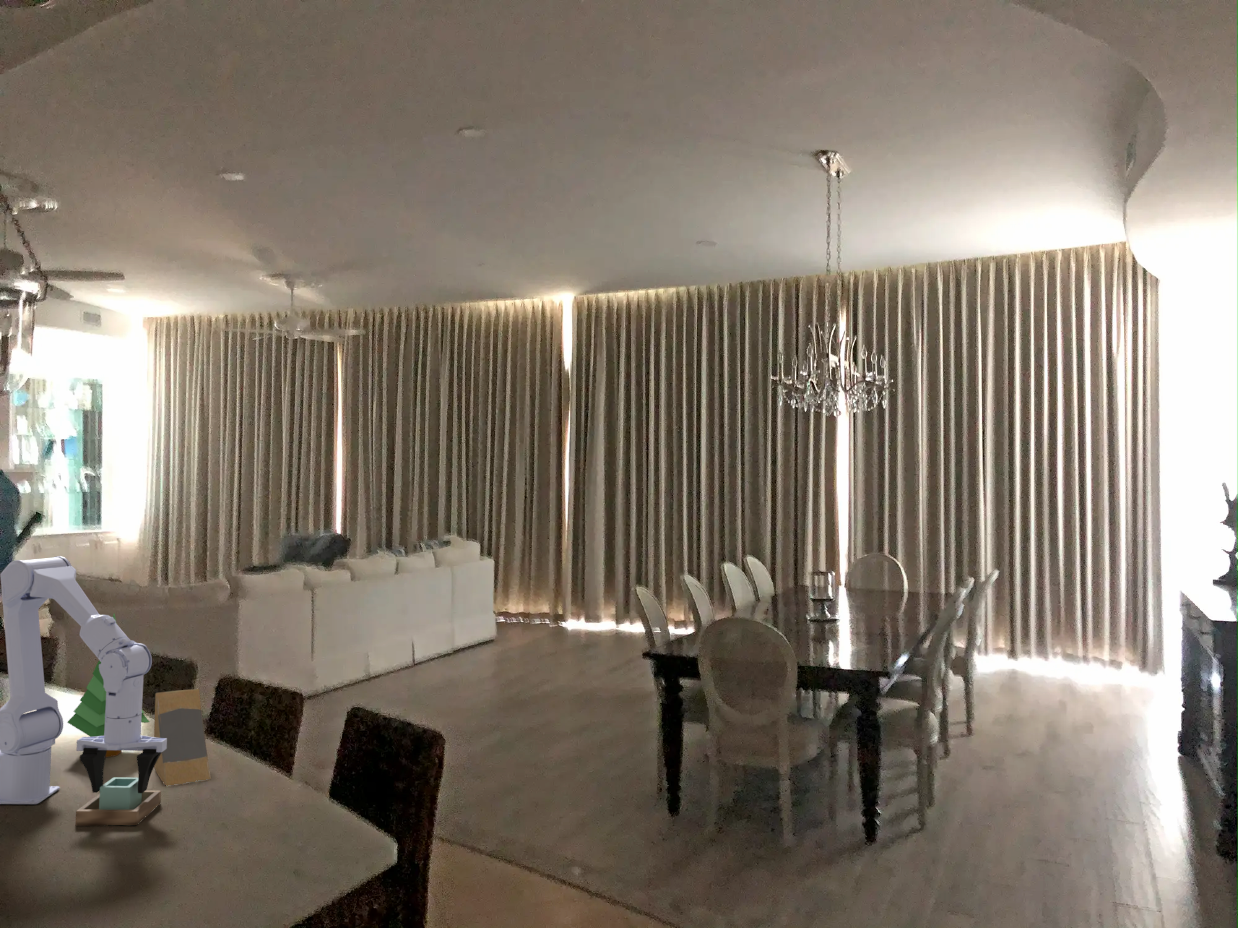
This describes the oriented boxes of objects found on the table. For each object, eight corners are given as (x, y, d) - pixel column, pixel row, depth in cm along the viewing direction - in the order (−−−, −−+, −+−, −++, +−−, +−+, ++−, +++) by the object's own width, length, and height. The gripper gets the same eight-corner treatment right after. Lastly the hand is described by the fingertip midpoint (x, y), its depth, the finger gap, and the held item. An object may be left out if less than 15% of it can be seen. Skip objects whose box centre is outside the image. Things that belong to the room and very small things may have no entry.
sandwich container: (164, 788, 173) (167, 710, 173) (151, 764, 185) (154, 692, 185) (212, 780, 178) (215, 704, 178) (196, 758, 190) (199, 687, 190)
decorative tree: (107, 768, 181) (113, 620, 182) (51, 757, 187) (57, 613, 187) (162, 750, 194) (168, 611, 194) (109, 739, 200) (114, 605, 200)
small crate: (98, 815, 157) (99, 787, 157) (112, 804, 162) (113, 777, 162) (128, 815, 157) (129, 787, 157) (141, 805, 162) (142, 777, 162)
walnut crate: (75, 825, 154) (76, 810, 154) (103, 803, 164) (104, 789, 164) (136, 825, 155) (136, 811, 155) (160, 803, 165) (161, 790, 165)
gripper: (68, 719, 155) (65, 798, 155) (156, 721, 156) (152, 799, 156) (89, 708, 162) (85, 783, 162) (173, 710, 163) (169, 785, 163)
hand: (120, 790), depth 159 cm, fingers open, 7 cm apart
